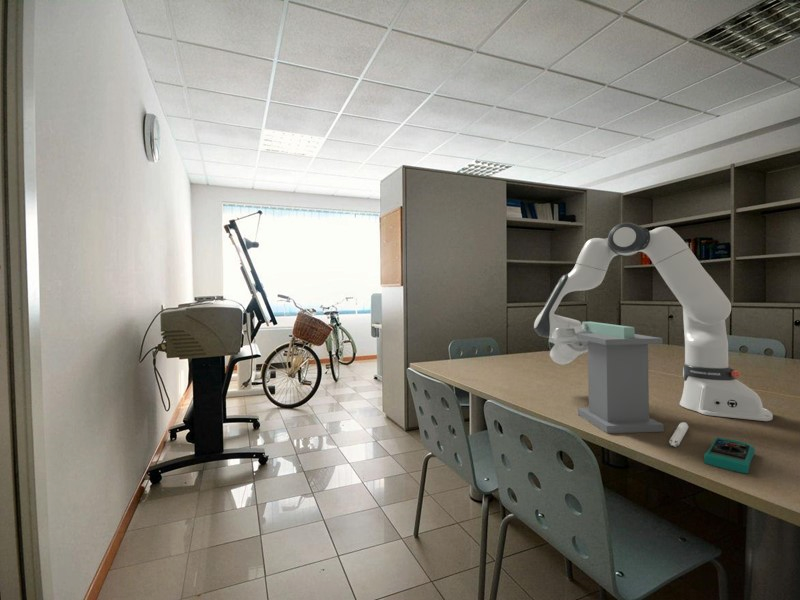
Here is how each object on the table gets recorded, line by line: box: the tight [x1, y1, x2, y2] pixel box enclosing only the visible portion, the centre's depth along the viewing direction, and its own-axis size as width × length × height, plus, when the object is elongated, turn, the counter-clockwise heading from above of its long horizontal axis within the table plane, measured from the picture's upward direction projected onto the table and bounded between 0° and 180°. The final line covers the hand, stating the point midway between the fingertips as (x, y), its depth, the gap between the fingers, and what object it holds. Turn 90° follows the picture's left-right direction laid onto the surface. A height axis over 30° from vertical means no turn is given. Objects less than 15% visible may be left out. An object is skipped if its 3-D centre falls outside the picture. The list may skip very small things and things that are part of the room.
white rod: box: [669, 421, 689, 448], centre depth 98 cm, size 18×2×2 cm, turn 135°
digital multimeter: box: [703, 437, 755, 475], centre depth 85 cm, size 7×15×3 cm, turn 132°
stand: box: [577, 333, 665, 434], centre depth 110 cm, size 16×16×26 cm
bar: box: [581, 321, 636, 338], centre depth 115 cm, size 23×3×3 cm, turn 1°
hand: (592, 325), depth 123 cm, fingers closed on bar, 3 cm apart
